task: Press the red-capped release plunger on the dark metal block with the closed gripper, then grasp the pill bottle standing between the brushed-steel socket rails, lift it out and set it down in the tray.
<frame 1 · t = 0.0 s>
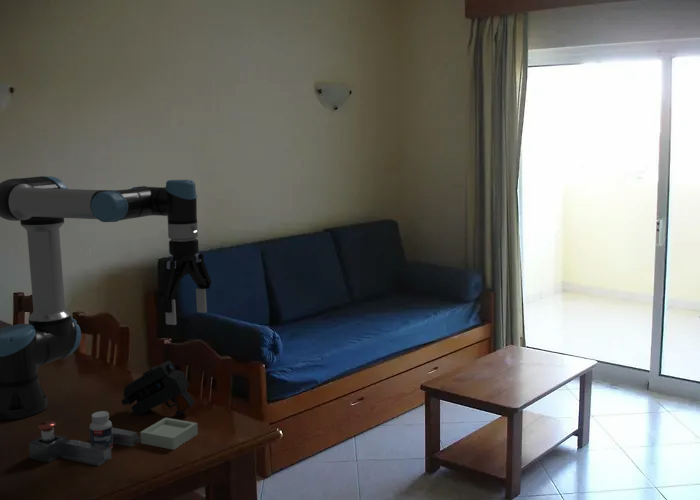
hand: (187, 318, 191), 28 cm above the table, fingers open, 13 cm apart
plunger: (47, 435, 173), point 5 cm above the table, slide at 0.0 cm
tray: (169, 438, 182), on the table
socket: (102, 448, 177), on the table
pill bottle: (102, 449, 177), on the table
tool: (157, 413, 200), on the table
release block: (49, 455, 173), on the table
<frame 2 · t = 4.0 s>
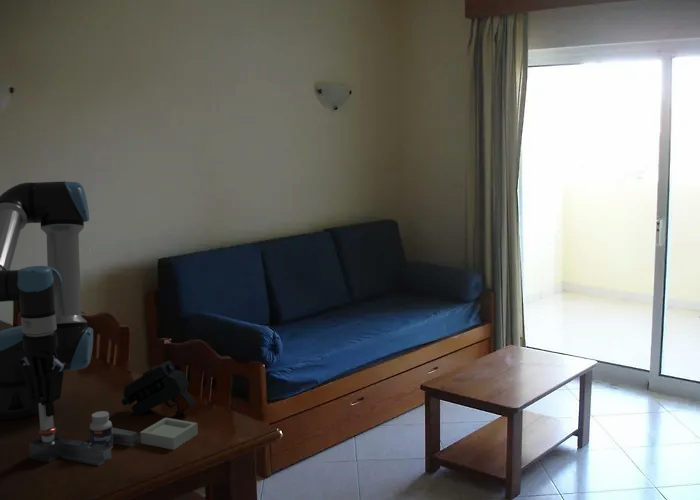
hand: (47, 428, 172), 7 cm above the table, fingers closed
plunger: (48, 440, 173), point 4 cm above the table, slide at 1.2 cm, touching gripper
everything else where it was.
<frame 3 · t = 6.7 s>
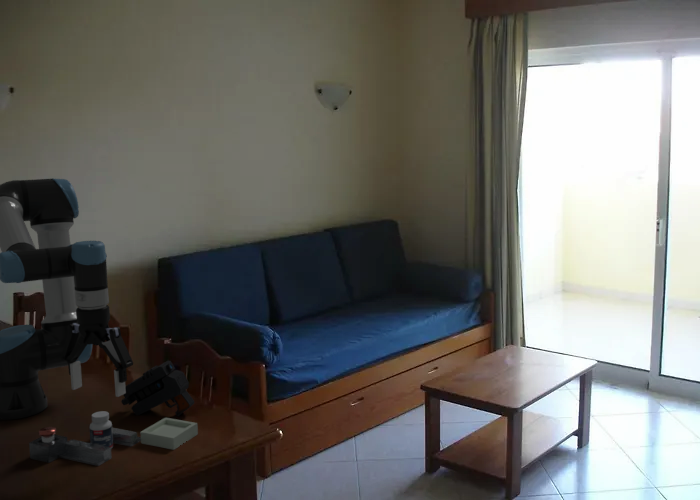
hand: (98, 391, 175), 15 cm above the table, fingers open, 13 cm apart
plunger: (48, 441, 173), point 4 cm above the table, slide at 1.5 cm
everything else where it was.
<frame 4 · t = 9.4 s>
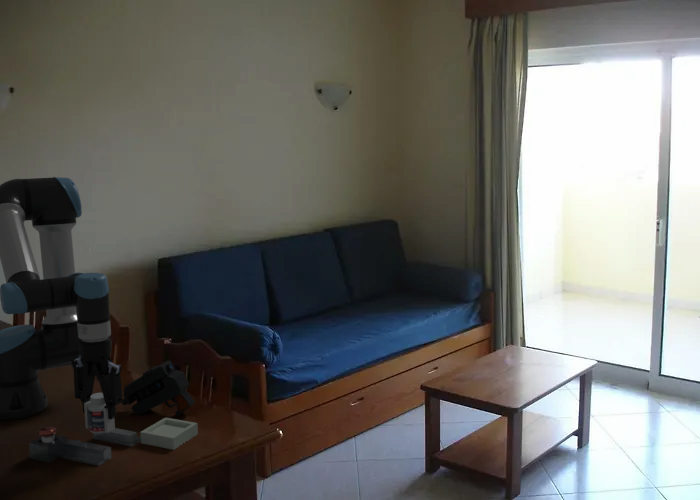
hand: (100, 428, 177), 5 cm above the table, fingers closed on pill bottle, 5 cm apart
pill bottle: (100, 430, 177), point 4 cm above the table, touching gripper
everything else where it was.
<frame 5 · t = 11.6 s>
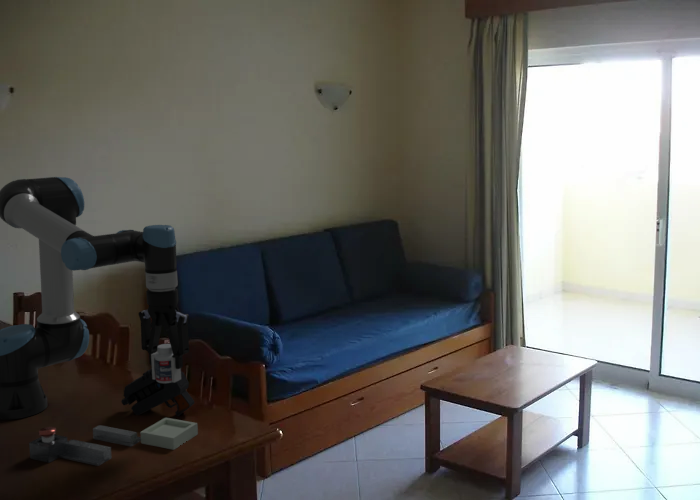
hand: (166, 379, 180), 16 cm above the table, fingers closed on pill bottle, 5 cm apart
pill bottle: (167, 380, 180), point 15 cm above the table, touching gripper
everything else where it was.
when the fingers open (3 cm above the table, at t = 14.0 s): pill bottle stays where it is, resting on tray.
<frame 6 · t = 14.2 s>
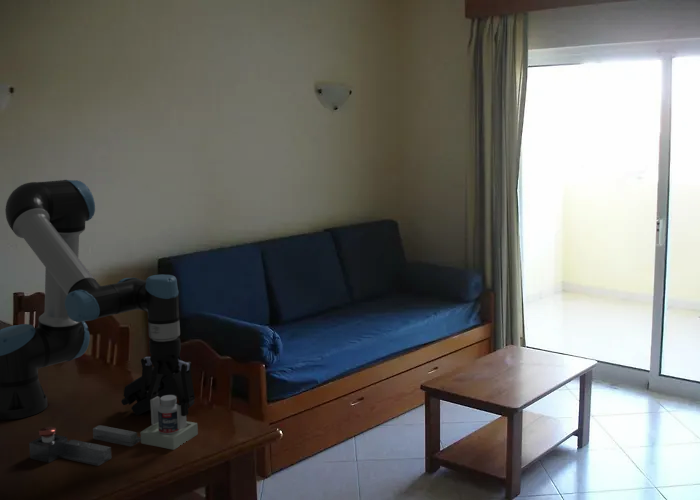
hand: (169, 424, 182), 4 cm above the table, fingers open, 7 cm apart
pill bottle: (169, 431, 182), point 2 cm above the table, touching tray
everything else where it was.
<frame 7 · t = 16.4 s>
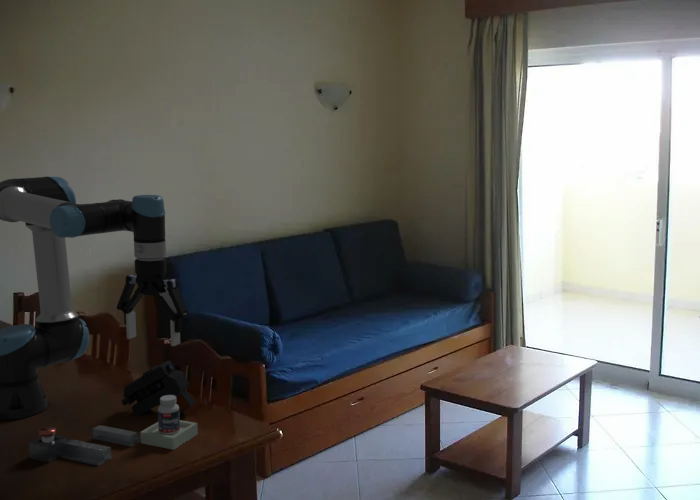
hand: (153, 341, 181), 25 cm above the table, fingers open, 13 cm apart
nothing on the table moved.
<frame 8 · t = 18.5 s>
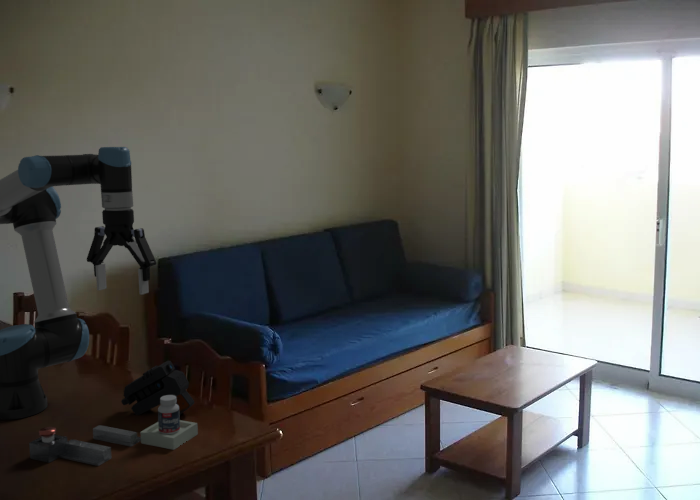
hand: (122, 291, 184), 37 cm above the table, fingers open, 13 cm apart
nothing on the table moved.
at the end: pill bottle inside the target area on the tray (0.1 cm from its centre), point 1.8 cm above the tray's base; pill bottle tilted 0°; plunger slide at 1.5 cm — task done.
